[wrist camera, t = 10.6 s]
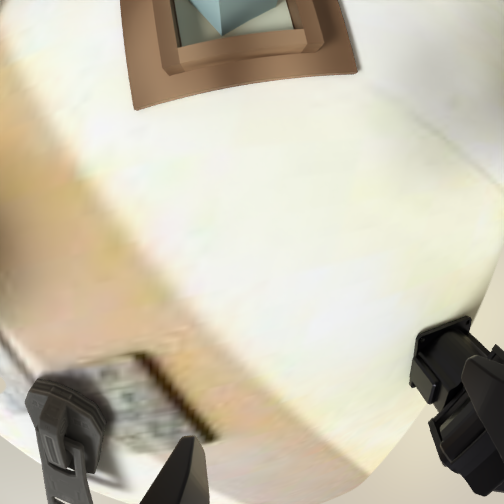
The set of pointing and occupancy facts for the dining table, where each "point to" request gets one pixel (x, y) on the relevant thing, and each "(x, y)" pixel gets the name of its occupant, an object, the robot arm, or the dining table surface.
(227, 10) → the pale blue rectangular block
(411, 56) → the dining table surface
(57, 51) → the dining table surface
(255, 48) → the picture frame
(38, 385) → the zipper pull
